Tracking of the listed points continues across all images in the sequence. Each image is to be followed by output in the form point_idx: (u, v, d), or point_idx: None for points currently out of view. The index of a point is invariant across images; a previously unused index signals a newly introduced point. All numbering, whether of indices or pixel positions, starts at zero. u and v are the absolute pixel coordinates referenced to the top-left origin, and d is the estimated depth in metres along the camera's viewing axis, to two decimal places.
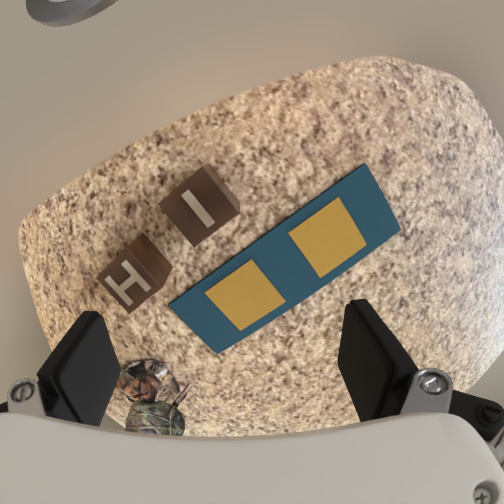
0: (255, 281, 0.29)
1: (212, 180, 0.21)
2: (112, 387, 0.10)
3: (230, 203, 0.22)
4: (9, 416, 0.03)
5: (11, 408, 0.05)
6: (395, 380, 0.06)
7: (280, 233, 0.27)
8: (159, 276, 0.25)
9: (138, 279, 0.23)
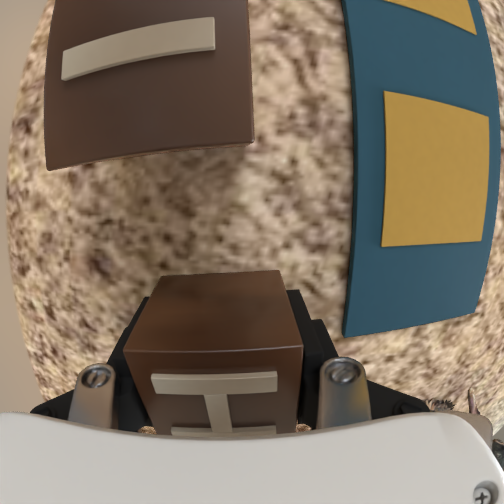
0: (430, 127, 0.09)
1: None
2: None
3: None
4: (9, 416, 0.03)
5: (77, 391, 0.06)
6: (305, 366, 0.07)
7: (363, 6, 0.07)
8: (268, 324, 0.08)
9: (227, 387, 0.07)
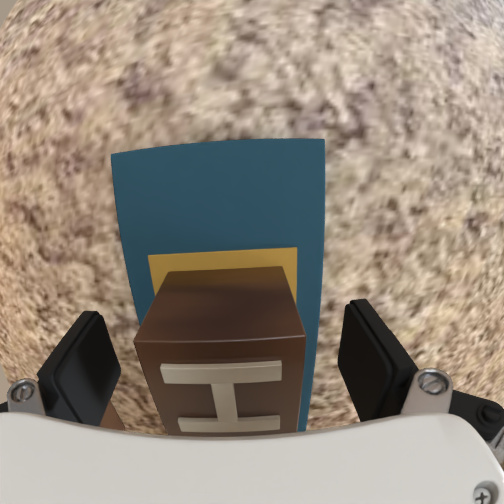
0: None
1: None
2: (112, 387, 0.10)
3: None
4: (9, 416, 0.03)
5: (11, 408, 0.05)
6: (395, 380, 0.06)
7: None
8: (272, 315, 0.08)
9: (233, 376, 0.07)
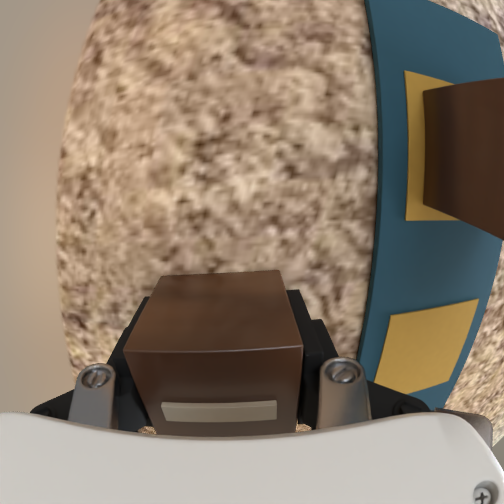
0: (422, 328, 0.12)
1: (169, 354, 0.07)
2: None
3: (260, 352, 0.07)
4: (9, 416, 0.03)
5: (77, 391, 0.06)
6: (305, 366, 0.07)
7: (395, 235, 0.10)
8: None
9: None
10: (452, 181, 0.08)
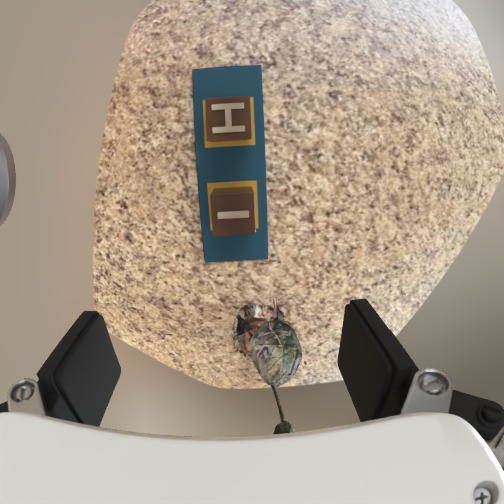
0: None
1: (222, 194, 0.30)
2: (112, 387, 0.10)
3: (243, 193, 0.30)
4: (9, 416, 0.03)
5: (11, 408, 0.05)
6: (395, 380, 0.06)
7: (202, 153, 0.32)
8: None
9: (231, 106, 0.26)
10: None
